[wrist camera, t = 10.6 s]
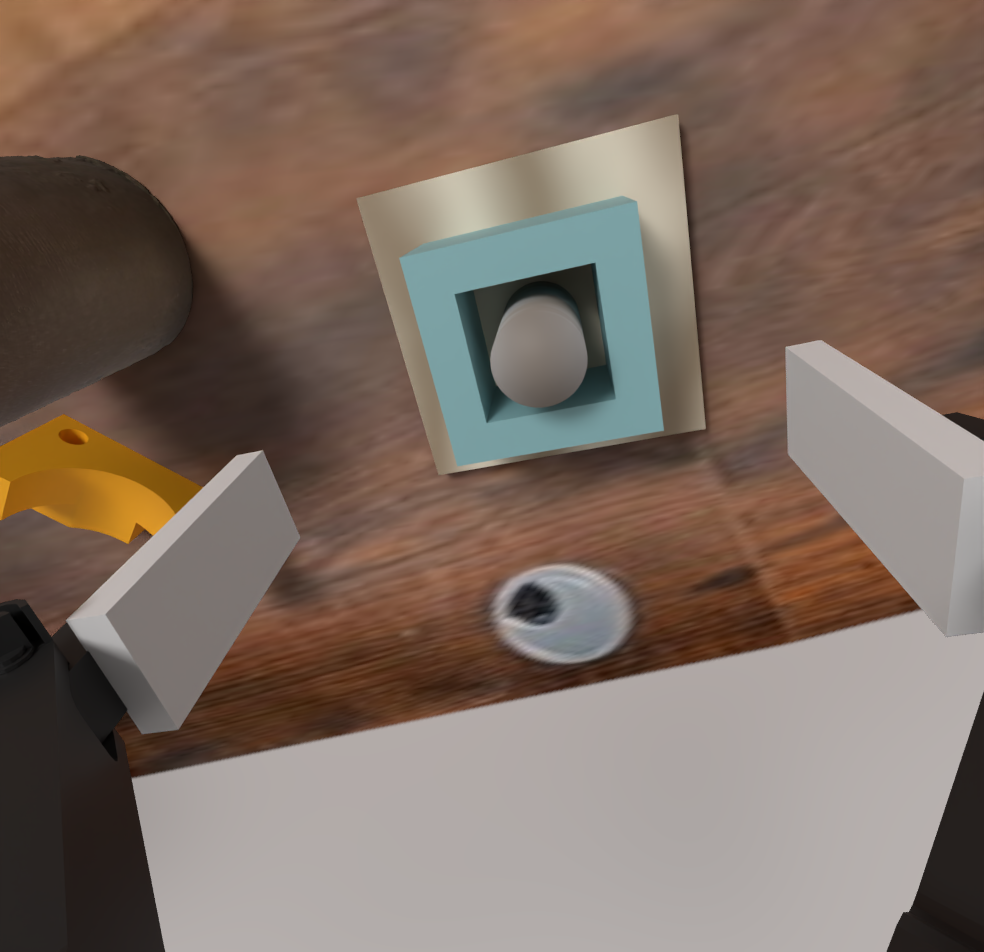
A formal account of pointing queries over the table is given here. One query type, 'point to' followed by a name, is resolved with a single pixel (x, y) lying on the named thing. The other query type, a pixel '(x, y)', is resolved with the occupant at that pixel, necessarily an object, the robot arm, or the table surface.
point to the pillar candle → (81, 278)
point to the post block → (551, 274)
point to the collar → (462, 348)
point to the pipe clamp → (88, 481)
